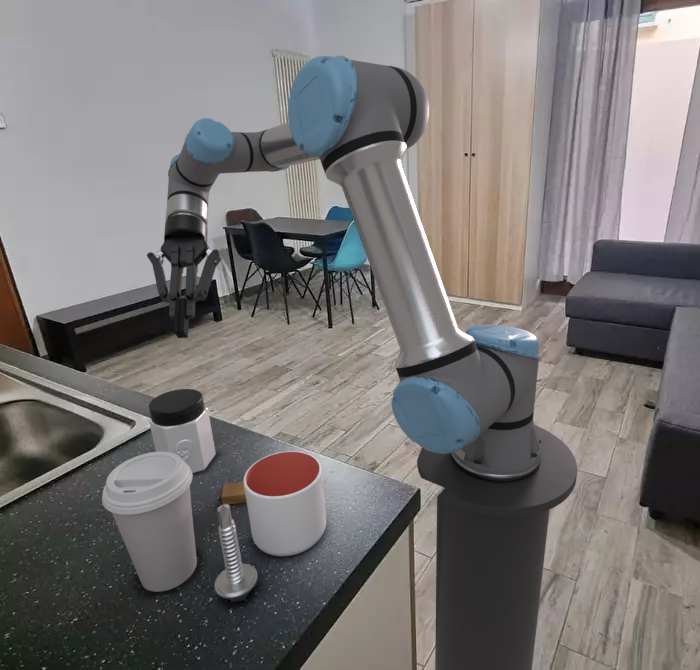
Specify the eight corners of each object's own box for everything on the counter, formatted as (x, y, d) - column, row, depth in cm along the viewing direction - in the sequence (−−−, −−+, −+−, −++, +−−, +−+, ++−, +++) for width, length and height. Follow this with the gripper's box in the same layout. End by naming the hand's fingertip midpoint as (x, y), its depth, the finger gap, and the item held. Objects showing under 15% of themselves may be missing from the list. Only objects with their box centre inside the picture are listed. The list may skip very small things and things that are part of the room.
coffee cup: (108, 588, 59) (77, 487, 53) (169, 534, 67) (148, 441, 62) (168, 613, 55) (141, 507, 50) (225, 553, 64) (207, 456, 58)
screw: (267, 581, 59) (245, 615, 55) (232, 572, 61) (208, 605, 56) (254, 494, 55) (228, 523, 50) (217, 487, 56) (189, 515, 52)
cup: (292, 499, 73) (285, 442, 70) (341, 526, 68) (337, 466, 64) (237, 540, 66) (226, 479, 62) (288, 573, 60) (279, 509, 57)
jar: (160, 483, 78) (145, 417, 73) (159, 456, 85) (145, 395, 80) (219, 467, 81) (207, 404, 77) (213, 443, 88) (202, 384, 84)
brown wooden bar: (312, 481, 77) (312, 473, 77) (312, 494, 74) (312, 485, 74) (225, 491, 75) (224, 483, 75) (222, 505, 72) (220, 497, 72)
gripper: (226, 234, 98) (224, 340, 89) (157, 237, 96) (148, 346, 87) (217, 210, 91) (215, 322, 82) (143, 213, 89) (131, 328, 80)
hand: (180, 334), depth 84 cm, fingers closed
